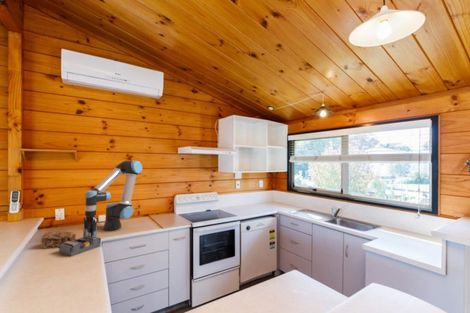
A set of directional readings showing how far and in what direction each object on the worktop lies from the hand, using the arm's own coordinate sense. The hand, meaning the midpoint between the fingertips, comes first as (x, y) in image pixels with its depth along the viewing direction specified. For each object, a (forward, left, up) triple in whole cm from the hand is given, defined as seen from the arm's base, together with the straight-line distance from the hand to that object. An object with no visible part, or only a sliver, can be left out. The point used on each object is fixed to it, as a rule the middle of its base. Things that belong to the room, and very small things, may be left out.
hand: (89, 239), depth 187 cm
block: (0, 0, 0) cm, 0 cm away
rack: (+15, +13, 0) cm, 20 cm away
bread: (+17, -9, -1) cm, 20 cm away
